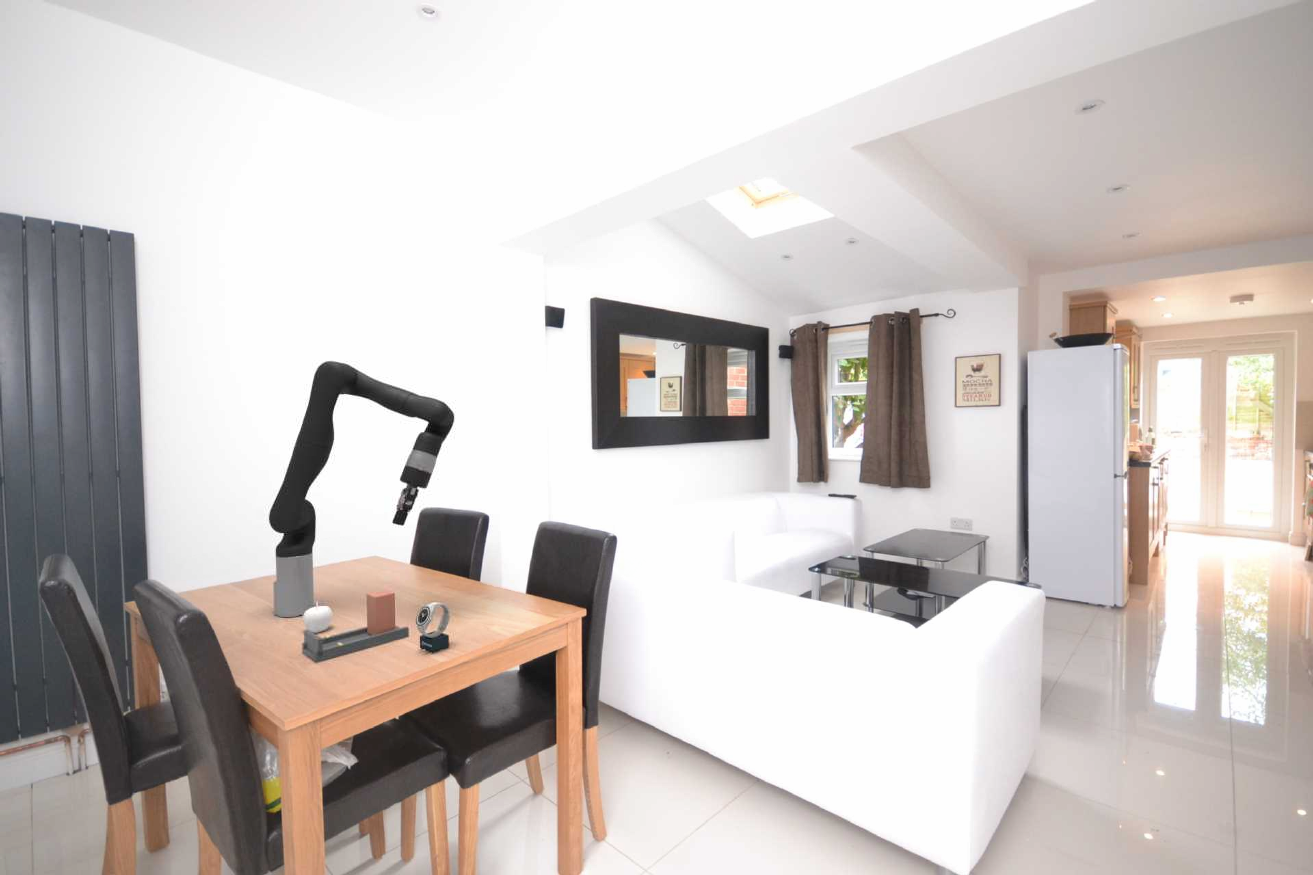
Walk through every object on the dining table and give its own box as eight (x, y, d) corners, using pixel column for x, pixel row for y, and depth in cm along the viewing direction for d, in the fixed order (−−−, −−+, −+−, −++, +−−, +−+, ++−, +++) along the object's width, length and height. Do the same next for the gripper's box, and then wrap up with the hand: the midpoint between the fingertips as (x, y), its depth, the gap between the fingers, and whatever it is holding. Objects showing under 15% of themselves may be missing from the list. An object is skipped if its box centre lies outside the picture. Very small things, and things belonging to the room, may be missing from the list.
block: (386, 627, 157) (386, 589, 157) (395, 631, 154) (394, 592, 154) (367, 632, 153) (366, 593, 153) (375, 636, 150) (374, 597, 150)
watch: (412, 651, 144) (411, 605, 144) (441, 640, 151) (440, 597, 151) (426, 656, 141) (425, 609, 141) (455, 645, 148) (454, 601, 148)
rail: (392, 628, 160) (392, 609, 160) (409, 636, 154) (408, 616, 154) (301, 652, 144) (301, 631, 144) (316, 662, 138) (315, 640, 138)
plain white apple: (299, 636, 155) (298, 606, 155) (307, 627, 162) (306, 598, 162) (329, 633, 157) (328, 603, 157) (335, 624, 164) (335, 595, 164)
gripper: (402, 466, 173) (381, 520, 169) (408, 462, 161) (385, 520, 157) (428, 474, 176) (408, 527, 172) (436, 471, 164) (414, 529, 160)
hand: (397, 524), depth 164 cm, fingers open, 8 cm apart
